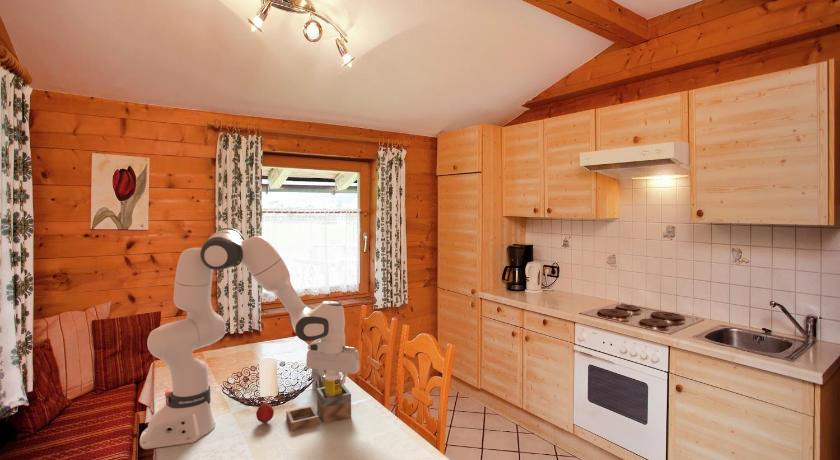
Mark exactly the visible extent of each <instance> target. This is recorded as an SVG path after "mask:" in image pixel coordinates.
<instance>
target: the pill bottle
mask: <svg viewBox="0 0 840 460" xmlns="http://www.w3.org/2000/svg"><path fill="white" fill-rule="evenodd" d="M326 372H327V374H326V375H325V397H326V398H327V397H332V396H337V395H341V394H342V384H340V378H342V377H343V375H342V373H341V372H335V371H332V370H326Z"/></svg>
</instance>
